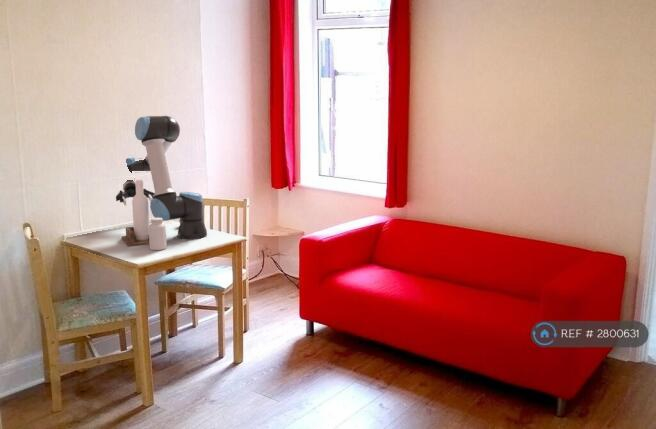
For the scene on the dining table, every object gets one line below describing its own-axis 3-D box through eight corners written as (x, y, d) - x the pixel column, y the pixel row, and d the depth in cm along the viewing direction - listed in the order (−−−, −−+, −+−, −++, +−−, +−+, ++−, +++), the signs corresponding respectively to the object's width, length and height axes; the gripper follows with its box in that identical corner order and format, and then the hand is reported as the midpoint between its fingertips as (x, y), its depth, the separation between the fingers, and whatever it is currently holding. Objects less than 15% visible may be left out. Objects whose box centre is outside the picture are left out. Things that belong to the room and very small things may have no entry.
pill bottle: (169, 247, 299) (168, 217, 296) (161, 251, 292) (160, 220, 288) (154, 245, 301) (153, 216, 298) (146, 250, 293) (144, 219, 290)
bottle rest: (164, 242, 307) (164, 230, 306) (127, 246, 299) (127, 234, 298) (156, 234, 323) (156, 223, 322) (121, 238, 315) (120, 226, 313)
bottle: (152, 236, 314) (149, 179, 308) (146, 240, 307) (143, 182, 300) (137, 236, 315) (134, 179, 309) (131, 240, 307) (128, 181, 301)
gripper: (153, 193, 341) (163, 206, 324) (107, 197, 330) (114, 210, 312) (153, 180, 339) (162, 193, 321) (106, 184, 327) (113, 197, 310)
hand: (138, 201), depth 317 cm, fingers open, 13 cm apart
